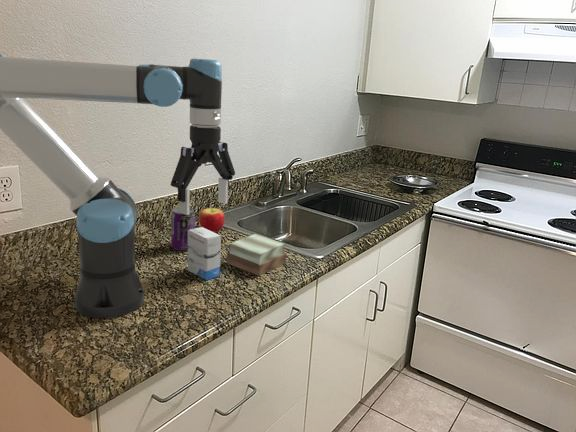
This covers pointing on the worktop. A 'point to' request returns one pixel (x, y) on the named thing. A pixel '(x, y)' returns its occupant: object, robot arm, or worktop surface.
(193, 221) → the beverage can
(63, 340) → the worktop surface
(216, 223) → the apple
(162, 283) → the worktop surface
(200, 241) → the ink box
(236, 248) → the pedestal
